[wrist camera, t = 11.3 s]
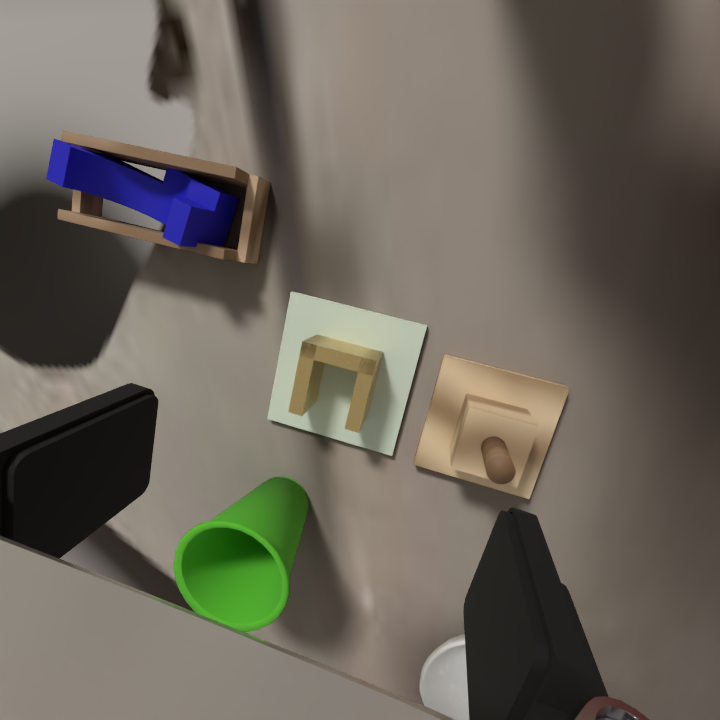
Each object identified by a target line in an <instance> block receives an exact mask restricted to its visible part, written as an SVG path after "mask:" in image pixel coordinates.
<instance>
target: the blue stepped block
mask: <svg viewBox="0 0 720 720" xmlns="http://www.w3.org/2000/svg"><path fill="white" fill-rule="evenodd" d="M47 179H48V180H50V181H52V182H54V183H56V184H58V185H60V186H62V187H65V188H70V189H74V190H78V191H82V192H85V193H89V194H92V195H95V196H98V197H102V198H104V199H107V200H111V201H113V202H116V203H119V204H122V205H124V206H127V207H129V208H132V209H134V210H137V211H139V212H141V213H143V214H146V215H148V216H150V217H152V218H154V219H156V220H158V221H160V222H161V223H163V224H165V225H166V227H165V230H164V234H163V238H165V239H167V240H169V241H171V242H173V243H174V244H176V245H178V246H186V247H196V245H197V243H203V244H210V245H217V246H224V244H225V241H226V238H227V235H228V232H229V229H230V226H231V223H232V220H233V217H234V214H235V211H236V208H237V205H238V202H239V198H237V197H235V196H233V195H231V194H229V193H227V192H225V191H223V190H221V189H219V188H217V187H214V186H212V185H210V184H208V183H206V182H204V181H202V180H200V179H198V178H196V177H194V176H192V175H189V174H187V173H184V172H181V171H179V170H176V169H171V168H167V170H166V174H165V177H164V181H162V180H160V179H158V178H156V177H154V176H151V175H149V174H147V173H145V172H143V171H141V170H139V169H137V168H135V167H133V166H131V165H129V164H127V163H125V162H123V161H121V160H119V159H116V158H113V157H110V156H107V155H104V154H101V153H98V152H95V151H91V150H88V149H85V148H82V147H79V146H76V145H72V144H69V143H66V142H63V141H60V140H56V139H54V141H53V146H52V152H51V158H50V162H49V168H48V173H47Z"/></svg>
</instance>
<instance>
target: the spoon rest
mask: <svg viewBox="0 0 720 720" xmlns="http://www.w3.org/2000/svg"><path fill="white" fill-rule="evenodd" d="M419 687H420V694H421V698H422V701H423V703H424V706H426V707H428V708H431V709H433V710H435V711H437V712H440V713H442V714H444V715H446V716H448V717H451V718H453V719H455V720H469V704H468V686H467V667H466V649H465V634H462V635H458V636H456V637H453V638H450V639H449V640H447V641H445V642H444V643H443V644H441V645H440V646H439V647H438V648H436V649H435V650H434V651H433V652H432V653H431V654H430V655H429V657H428V658H427V660H426V661H425V663H424V665H423V668H422V671H421V675H420V683H419Z"/></svg>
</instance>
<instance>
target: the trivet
mask: <svg viewBox="0 0 720 720" xmlns="http://www.w3.org/2000/svg"><path fill="white" fill-rule="evenodd" d="M426 328H427V325H424V324H420V323H416V322H412V321H408V320H404V319H400V318H396V317H392V316H388V315H384V314H380V313H376V312H372V311H368V310H364V309H360V308H356V307H352V306H348V305H344V304H340V303H337V302H333V301H329V300H325V299H321V298H317V297H313V296H309V295H305V294H301V293H297V292H291V294H290V300H289V305H288V310H287V316H286V321H285V327H284V332H283V337H282V343H281V348H280V353H279V359H278V364H277V370H276V375H275V380H274V386H273V391H272V397H271V402H270V407H269V413H268V418H267V419H269V420H273V421H276V422H279V423H283V424H286V425H289V426H293V427H296V428H299V429H303V430H306V431H310V432H313V433H316V434H320V435H323V436H326V437H330V438H333V439H336V440H340V441H343V442H346V443H350V444H353V445H356V446H360V447H363V448H366V449H370V450H373V451H376V452H380V453H383V454H386V455H390V456H392V454H393V451H394V447H395V443H396V440H397V436H398V432H399V428H400V425H401V421H402V417H403V414H404V410H405V406H406V402H407V399H408V395H409V391H410V388H411V384H412V380H413V376H414V373H415V369H416V365H417V362H418V358H419V354H420V350H421V347H422V343H423V339H424V336H425V332H426ZM315 335H321V336H325V337H329V338H333V339H336V340H340V341H344V342H348V343H351V344H355V345H359V346H363V347H366V348H370V349H374V350H378V351H382V352H384V353H383V357H382V361H381V365H380V369H379V373H378V377H377V381H376V385H375V389H374V393H373V397H372V401H371V405H370V409H369V413H368V417H367V419H366V421H365V422H364V424H363V426H362V428H361V430H360V432H359V433H357V432H354V431H350V430H347V429H345V425H346V420H347V416H348V412H349V408H350V403H351V399H352V395H353V391H354V387H355V382H356V378H357V374H358V372H356V371H353V370H349V369H345V368H342V367H338V366H334V365H331V364H327V363H325V364H324V369H323V374H322V378H321V383H320V388H319V392H318V397H317V402H316V403H315V404H314V405H313V406H312V407H311V408H310V409H309V410H308V411H307V412H306V413H305V414H304V415H303V416H300V415H296V414H293V413H289V412H288V410H289V405H290V400H291V395H292V390H293V385H294V380H295V375H296V370H297V365H298V360H299V355H300V350H301V345H302V341H304V340H306V339H308V338H310V337H313V336H315Z"/></svg>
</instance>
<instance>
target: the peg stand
mask: <svg viewBox="0 0 720 720" xmlns="http://www.w3.org/2000/svg"><path fill="white" fill-rule="evenodd" d="M569 390H570V389H569V388H568V387H567V386H565V385H561V384H558V383H554V382H550V381H546V380H542V379H538V378H534V377H531V376H527V375H523V374H519V373H515V372H511V371H508V370H504V369H500V368H496V367H492V366H488V365H484V364H481V363H477V362H473V361H469V360H465V359H461V358H457V357H454V356H450V355H446V354H444V357H443V361H442V364H441V368H440V371H439V375H438V378H437V382H436V385H435V389H434V392H433V396H432V399H431V403H430V406H429V410H428V413H427V417H426V420H425V424H424V427H423V431H422V434H421V438H420V442H419V445H418V449H417V452H416V456H415V459H414V465H416V466H420V467H423V468H426V469H430V470H433V471H436V472H440V473H443V474H446V475H450V476H453V477H456V478H460V479H463V480H466V481H470V482H473V483H476V484H480V485H483V486H486V487H490V488H493V489H496V490H500V491H503V492H506V493H510V494H513V495H516V496H520V497H523V498H526V499H530V496H531V493H532V491H533V488H534V485H535V482H536V480H537V477H538V474H539V471H540V469H541V466H542V463H543V461H544V458H545V455H546V452H547V450H548V447H549V444H550V441H551V439H552V436H553V433H554V430H555V428H556V425H557V422H558V420H559V417H560V414H561V411H562V409H563V406H564V403H565V400H566V398H567V395H568V392H569Z"/></svg>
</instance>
